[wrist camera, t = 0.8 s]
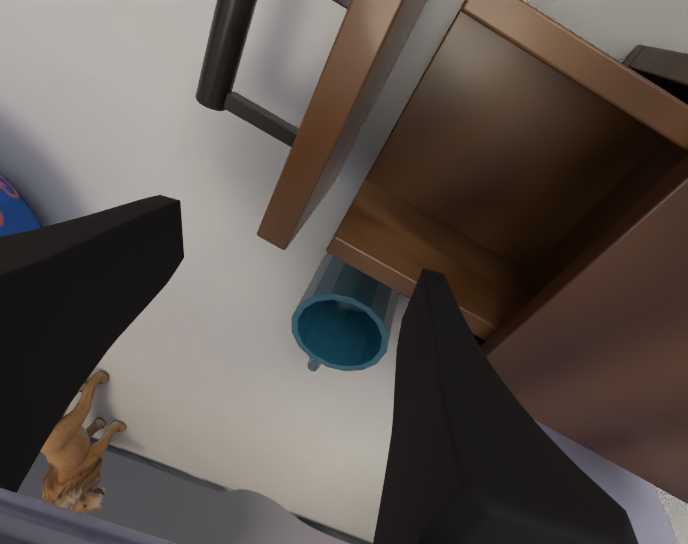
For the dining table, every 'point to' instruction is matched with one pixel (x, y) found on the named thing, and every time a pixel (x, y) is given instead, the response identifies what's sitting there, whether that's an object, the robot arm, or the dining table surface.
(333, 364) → the blue mug
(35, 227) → the ceramic pot
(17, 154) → the dining table surface
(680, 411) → the cabinet
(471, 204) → the drawer
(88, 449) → the lion figurine
